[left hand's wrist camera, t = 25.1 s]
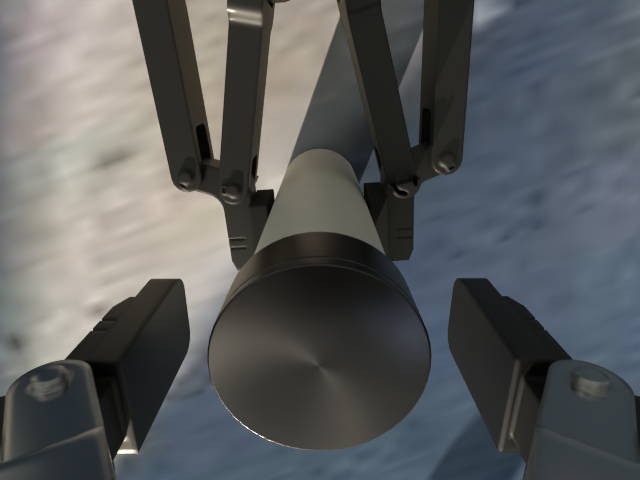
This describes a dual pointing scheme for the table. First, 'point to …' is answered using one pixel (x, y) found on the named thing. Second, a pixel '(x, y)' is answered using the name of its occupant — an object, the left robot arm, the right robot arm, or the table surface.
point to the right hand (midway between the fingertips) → (327, 321)
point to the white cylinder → (319, 201)
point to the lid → (319, 343)
